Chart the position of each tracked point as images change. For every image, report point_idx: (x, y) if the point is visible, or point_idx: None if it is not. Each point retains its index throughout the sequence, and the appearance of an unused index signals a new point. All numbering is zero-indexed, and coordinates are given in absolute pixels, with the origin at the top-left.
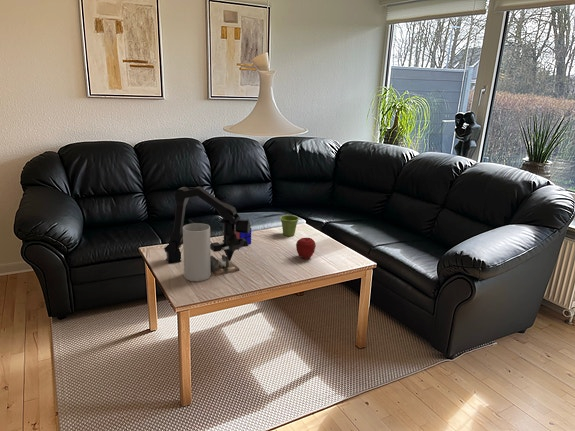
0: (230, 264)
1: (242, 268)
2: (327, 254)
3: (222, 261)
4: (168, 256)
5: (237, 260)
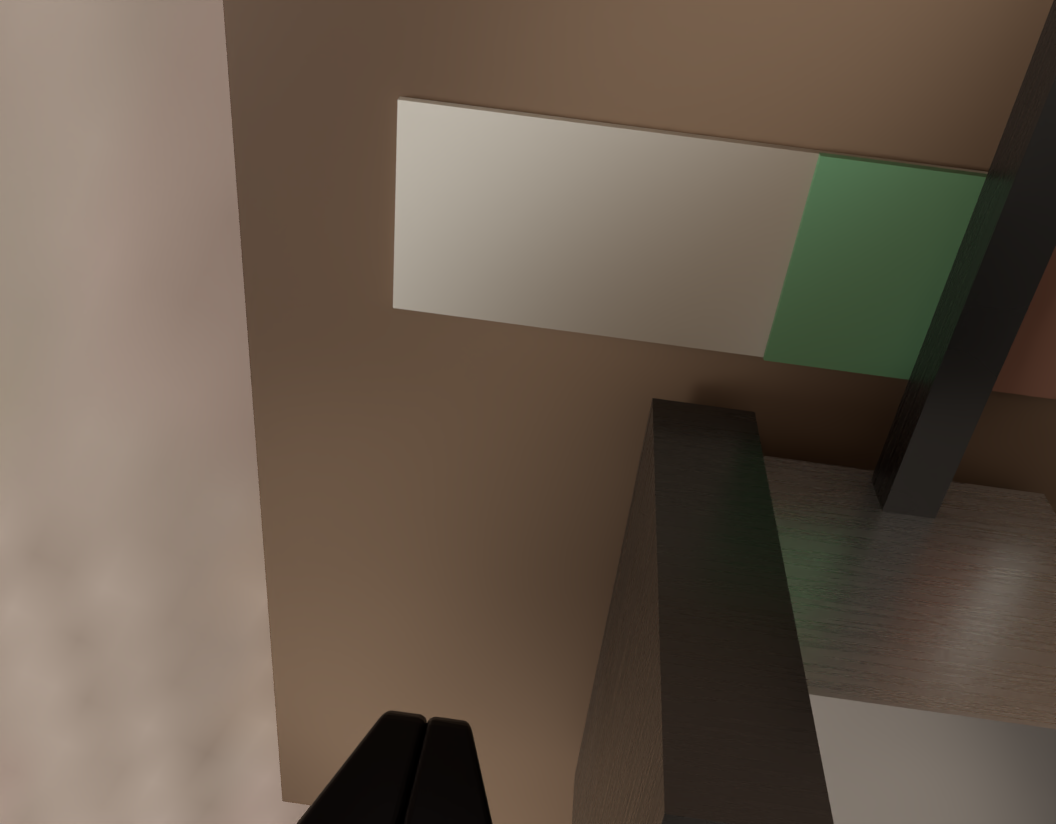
0: (409, 561)
1: (10, 74)
2: None
3: (1001, 776)
4: None
5: (7, 714)
